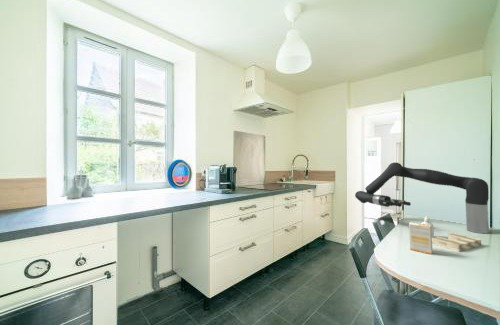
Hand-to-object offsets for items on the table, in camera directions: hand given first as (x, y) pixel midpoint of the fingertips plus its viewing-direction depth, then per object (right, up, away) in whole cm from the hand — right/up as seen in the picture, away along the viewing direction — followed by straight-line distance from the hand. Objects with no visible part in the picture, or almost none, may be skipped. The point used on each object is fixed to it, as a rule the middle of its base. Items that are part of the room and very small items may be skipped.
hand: (405, 204), depth 129 cm
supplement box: (-16, -17, -30) cm, 38 cm away
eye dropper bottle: (+4, -17, -11) cm, 20 cm away
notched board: (+9, -16, -23) cm, 30 cm away
